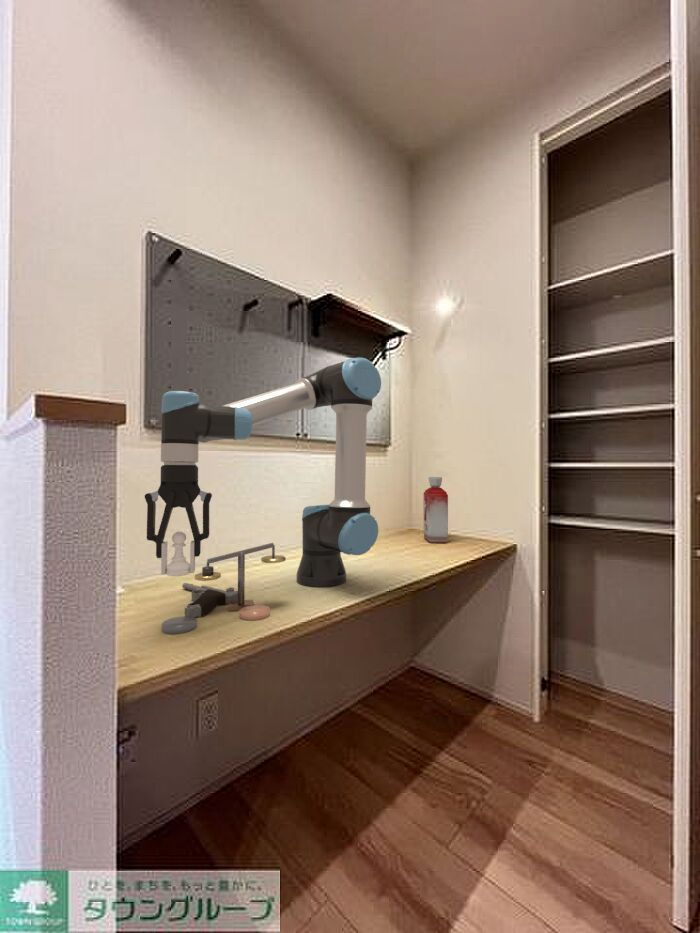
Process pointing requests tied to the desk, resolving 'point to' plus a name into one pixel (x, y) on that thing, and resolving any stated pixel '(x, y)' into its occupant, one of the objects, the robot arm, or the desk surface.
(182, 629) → the dish slate
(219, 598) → the handgun
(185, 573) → the chess pawn
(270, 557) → the balance
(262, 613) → the pink disc
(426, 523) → the bottle
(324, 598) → the desk surface
